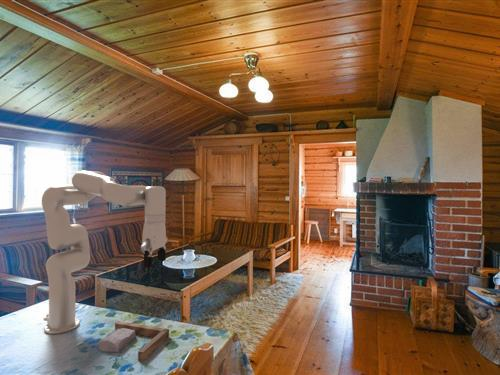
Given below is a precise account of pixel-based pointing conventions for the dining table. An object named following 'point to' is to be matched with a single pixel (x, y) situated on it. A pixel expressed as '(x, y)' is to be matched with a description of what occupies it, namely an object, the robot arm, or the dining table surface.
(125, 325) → the wooden corner frame
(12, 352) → the dining table surface
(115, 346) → the stone block
